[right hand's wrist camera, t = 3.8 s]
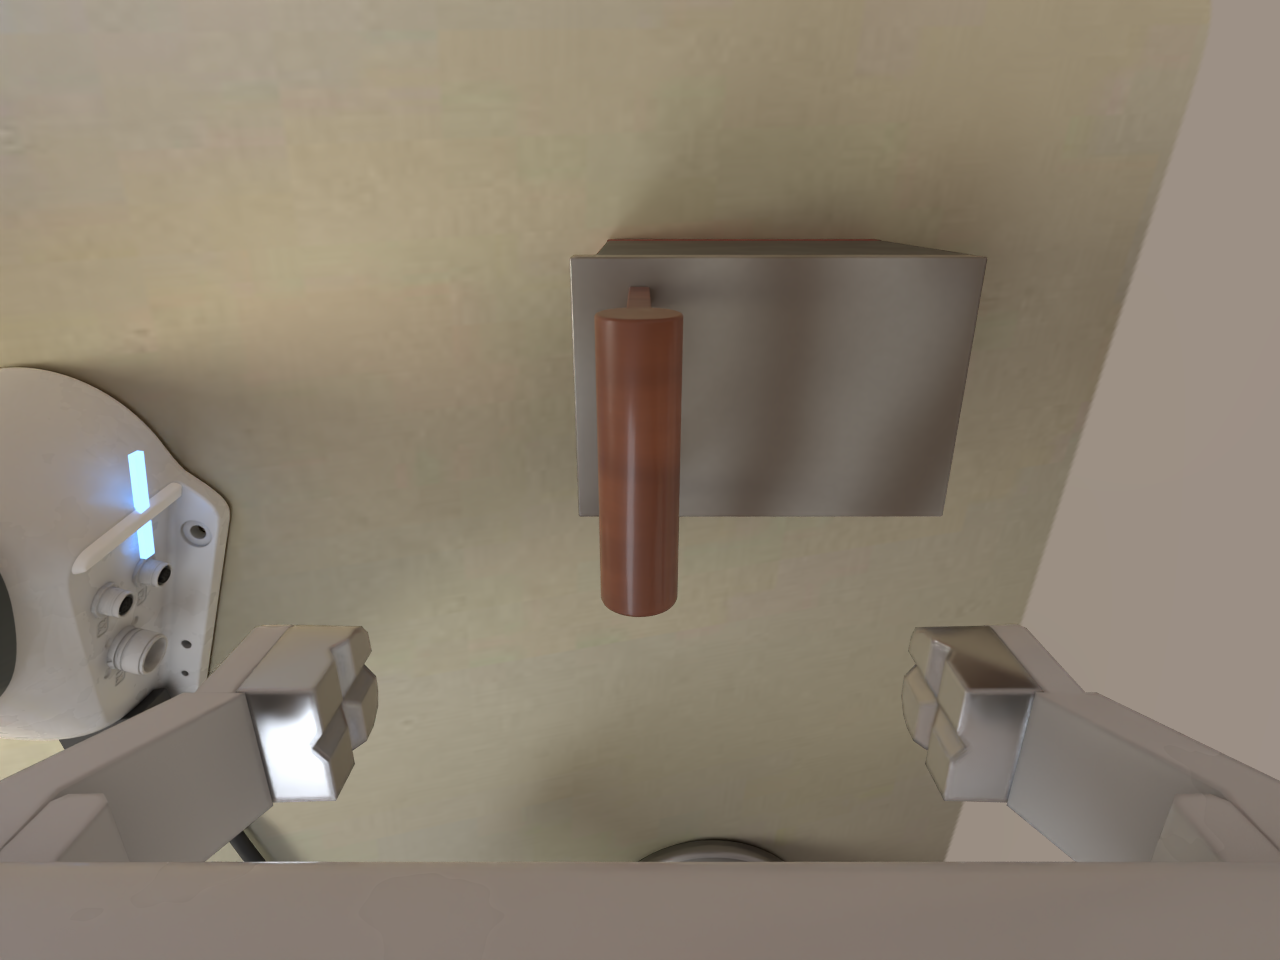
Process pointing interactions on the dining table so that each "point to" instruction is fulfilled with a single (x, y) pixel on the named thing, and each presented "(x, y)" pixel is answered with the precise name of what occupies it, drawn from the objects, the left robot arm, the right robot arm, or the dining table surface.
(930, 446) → the lid
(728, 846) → the left robot arm
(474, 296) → the dining table surface
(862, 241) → the chest
